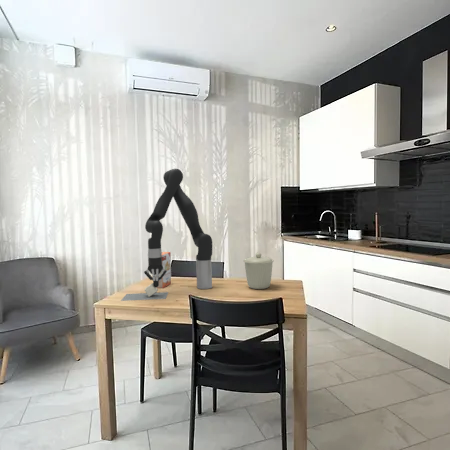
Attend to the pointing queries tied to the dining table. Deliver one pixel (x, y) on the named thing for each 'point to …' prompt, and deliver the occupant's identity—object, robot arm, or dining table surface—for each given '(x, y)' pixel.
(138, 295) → the mat
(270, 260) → the canister
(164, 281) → the cracker box
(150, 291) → the cube
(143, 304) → the dining table surface
